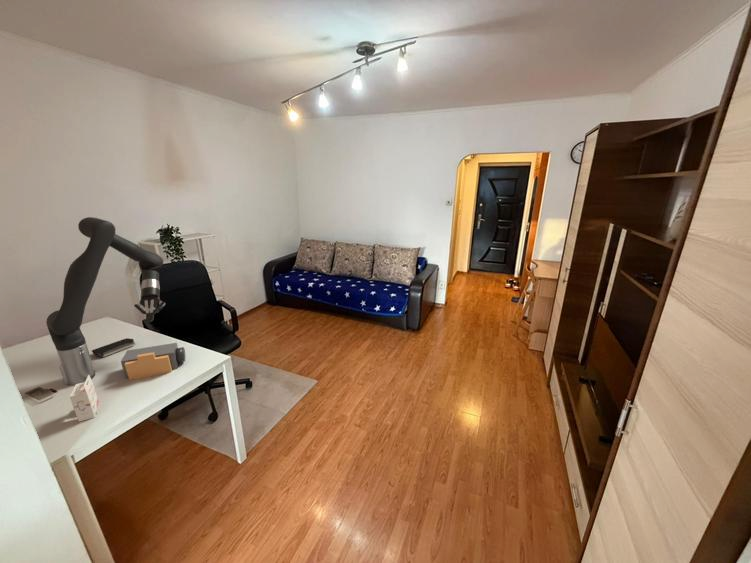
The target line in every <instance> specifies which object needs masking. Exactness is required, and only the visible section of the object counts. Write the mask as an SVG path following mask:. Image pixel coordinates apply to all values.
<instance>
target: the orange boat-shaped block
mask: <svg viewBox="0 0 751 563" xmlns="http://www.w3.org/2000/svg"><path fill="white" fill-rule="evenodd" d="M137 359H138V360H137V361H131V362H125V368H126V371H127V374H128V377H129V378H128V379H129V381H131V380H136V379H141V378H147V377H151V376H152V377H153V376H158V375H163V374H168V373H172V371H173V370H172V368H171V364H170V360H169V356H168V355H166V356H160V357H155V354H154V352H152V353H146V354H140V355H137Z"/></svg>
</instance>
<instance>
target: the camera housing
mask: <svg viewBox="0 0 751 563" xmlns="http://www.w3.org/2000/svg"><path fill="white" fill-rule="evenodd" d="M152 352H154V354H155V357H160V356H166V355H168V356H169V360H170V364H171V368H172V371H173V370H178V366H179V363H182V362H186V349H185V347H184V346H182V347H178V342H173V343H166V344H160V345H153V346H152V345H151V346H147V347H142V348H140V347H139V348H136V349H135V348H134V349H129V350H127V349H126V352H125V354H124V355H123V357H122V359H121V360H120V362H121V367H122V370H123V374H124V379H129V377H128V374H127V371H126V368H125V362H131V361H137V360H138V359H137V355H140V354H146V353H152Z"/></svg>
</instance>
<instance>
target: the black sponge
mask: <svg viewBox="0 0 751 563" xmlns="http://www.w3.org/2000/svg"><path fill="white" fill-rule="evenodd" d="M135 345H136V343H135V340H134V339H133V338H128V337H126V338H123V339H121V340H116V341H114V342H111V343H109V344H105V345H103V346H100V347H98V348H97V347H96V348H94V349H92V350H91V352H92V354H93V355H95V356H98V357H99V358H104V357H105V358H106V357H107V356H111V355H113V354H115V353H119V352H120V351H124V350H127V349H129V348H131V347H134V346H135Z"/></svg>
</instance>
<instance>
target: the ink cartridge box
mask: <svg viewBox="0 0 751 563" xmlns="http://www.w3.org/2000/svg"><path fill="white" fill-rule="evenodd" d="M71 391H72V392H71V393H70V395H69V399H70V402H71V405H72V406H73V410H74V413H75V415H76V418H77V421H78V423H79V422H82V421H86V420H90V419H93V418H95V417H96V415H97V410H98V406H99V403H100V402H99V399H98V395H97V393H96V392H97V391H96V388H95V385H94V383H93V380H92V379H91V378H90V376H89V375H88V377H87V379H86V381H85V382H84V383H80V384H76V385H75V386H74V387H73V389H72V390H71Z"/></svg>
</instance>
